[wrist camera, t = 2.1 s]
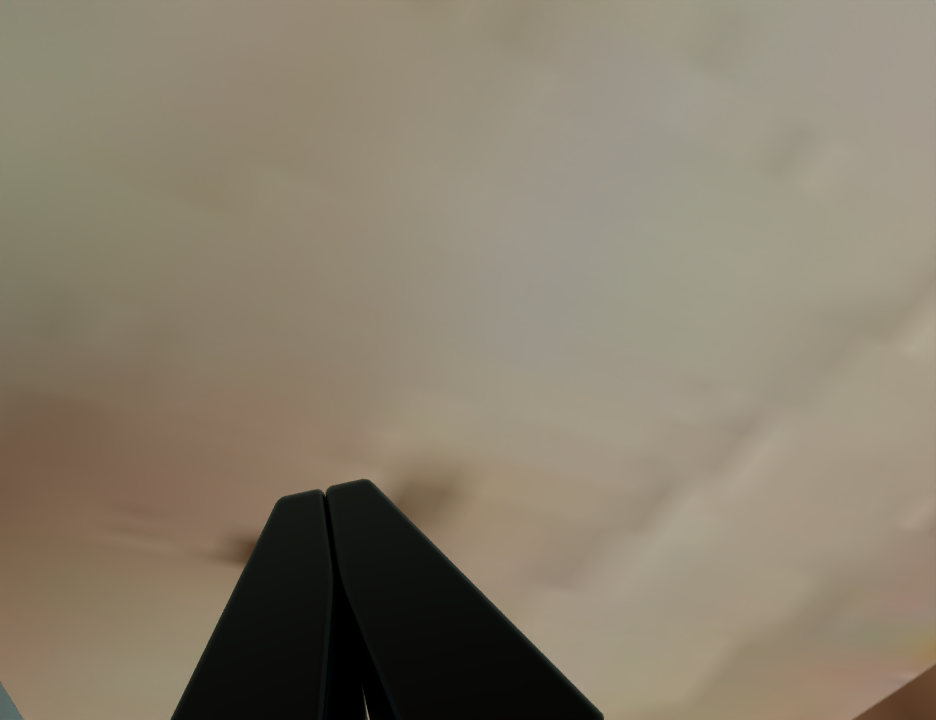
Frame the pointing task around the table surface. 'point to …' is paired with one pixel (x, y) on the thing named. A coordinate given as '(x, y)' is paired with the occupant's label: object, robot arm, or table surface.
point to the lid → (8, 707)
